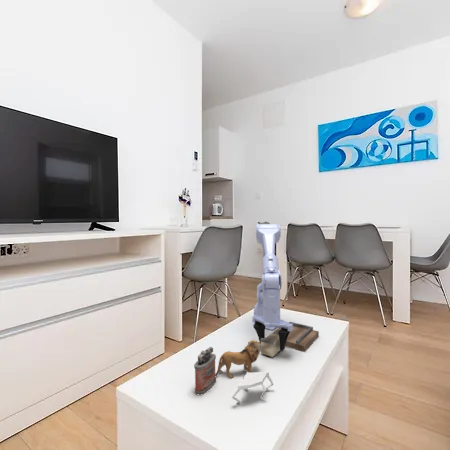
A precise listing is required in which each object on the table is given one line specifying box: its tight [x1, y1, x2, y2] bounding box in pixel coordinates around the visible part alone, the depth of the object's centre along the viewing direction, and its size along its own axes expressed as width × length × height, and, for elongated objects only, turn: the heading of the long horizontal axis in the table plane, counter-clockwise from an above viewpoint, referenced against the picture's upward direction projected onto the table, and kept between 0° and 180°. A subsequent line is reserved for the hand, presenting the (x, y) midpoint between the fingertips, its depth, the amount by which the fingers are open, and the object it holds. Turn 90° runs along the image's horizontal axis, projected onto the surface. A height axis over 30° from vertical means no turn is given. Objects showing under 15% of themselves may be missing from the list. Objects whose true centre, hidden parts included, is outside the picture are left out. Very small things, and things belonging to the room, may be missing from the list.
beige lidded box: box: [260, 332, 281, 358], centre depth 95 cm, size 4×8×6 cm, turn 143°
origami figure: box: [231, 371, 275, 405], centre depth 71 cm, size 12×8×5 cm
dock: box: [271, 321, 319, 353], centre depth 105 cm, size 14×15×3 cm
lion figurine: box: [215, 339, 261, 379], centre depth 82 cm, size 15×5×9 cm, turn 110°
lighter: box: [193, 346, 217, 396], centre depth 76 cm, size 8×3×10 cm, turn 148°
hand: (272, 346), depth 95 cm, fingers open, 7 cm apart
